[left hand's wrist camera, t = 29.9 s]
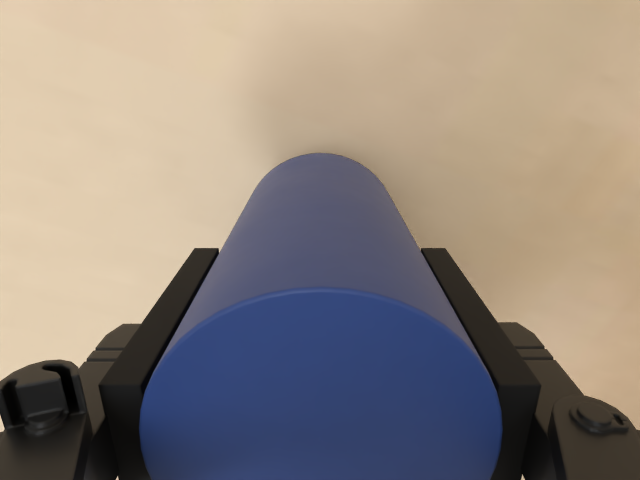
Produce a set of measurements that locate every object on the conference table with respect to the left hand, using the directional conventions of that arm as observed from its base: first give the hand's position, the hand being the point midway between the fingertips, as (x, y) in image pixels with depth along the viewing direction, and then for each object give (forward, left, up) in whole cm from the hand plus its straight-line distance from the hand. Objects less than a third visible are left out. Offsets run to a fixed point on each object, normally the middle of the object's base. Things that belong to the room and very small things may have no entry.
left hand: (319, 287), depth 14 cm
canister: (0, 0, -5) cm, 5 cm away
